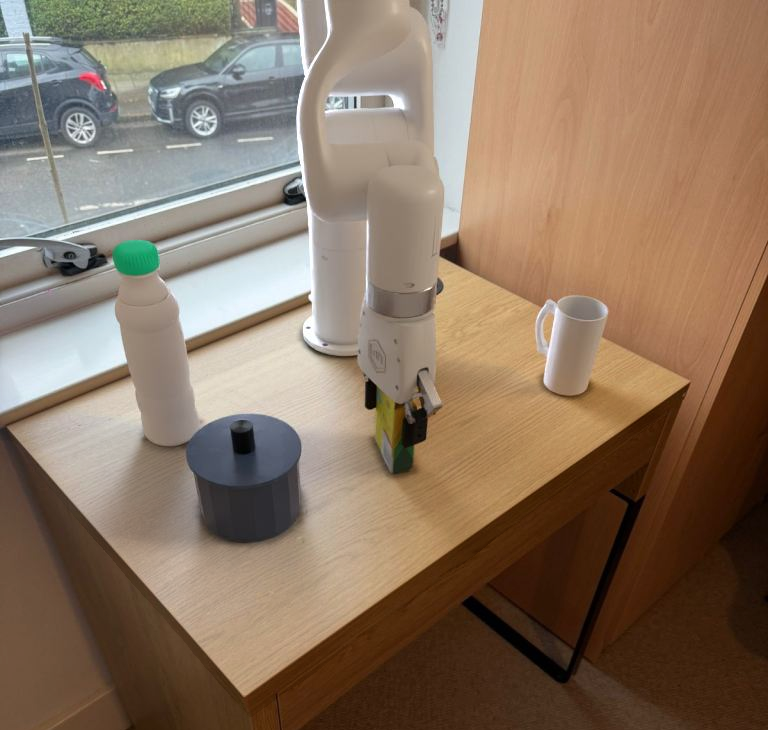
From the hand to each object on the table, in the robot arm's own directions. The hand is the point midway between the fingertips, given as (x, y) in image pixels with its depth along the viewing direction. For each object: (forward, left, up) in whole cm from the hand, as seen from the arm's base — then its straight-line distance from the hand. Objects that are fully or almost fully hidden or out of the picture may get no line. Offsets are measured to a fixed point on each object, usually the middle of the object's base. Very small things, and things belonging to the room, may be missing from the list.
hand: (394, 423), depth 93 cm
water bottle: (-18, -23, -5) cm, 29 cm away
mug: (-3, +29, -5) cm, 30 cm away
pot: (0, -20, -5) cm, 20 cm away
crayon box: (0, 0, -5) cm, 5 cm away
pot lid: (0, -20, +4) cm, 20 cm away
